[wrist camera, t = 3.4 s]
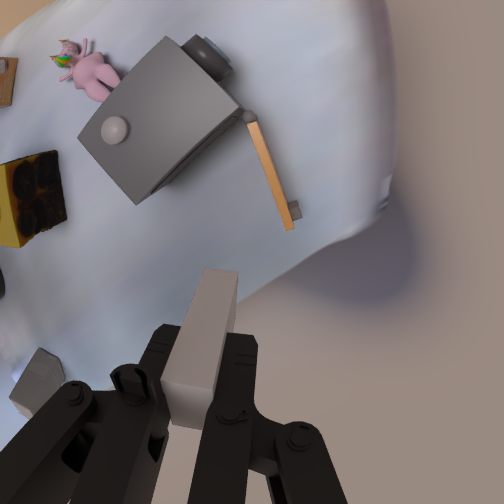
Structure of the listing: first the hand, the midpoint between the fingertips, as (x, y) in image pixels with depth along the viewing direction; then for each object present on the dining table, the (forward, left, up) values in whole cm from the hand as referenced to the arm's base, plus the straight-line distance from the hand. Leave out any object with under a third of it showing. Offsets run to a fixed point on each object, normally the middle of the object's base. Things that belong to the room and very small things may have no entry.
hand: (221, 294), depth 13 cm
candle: (-21, +22, -19) cm, 36 cm away
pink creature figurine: (-3, +25, -19) cm, 32 cm away
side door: (+5, +1, -18) cm, 18 cm away
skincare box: (-58, +2, -19) cm, 61 cm away
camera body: (+1, +11, -19) cm, 22 cm away
